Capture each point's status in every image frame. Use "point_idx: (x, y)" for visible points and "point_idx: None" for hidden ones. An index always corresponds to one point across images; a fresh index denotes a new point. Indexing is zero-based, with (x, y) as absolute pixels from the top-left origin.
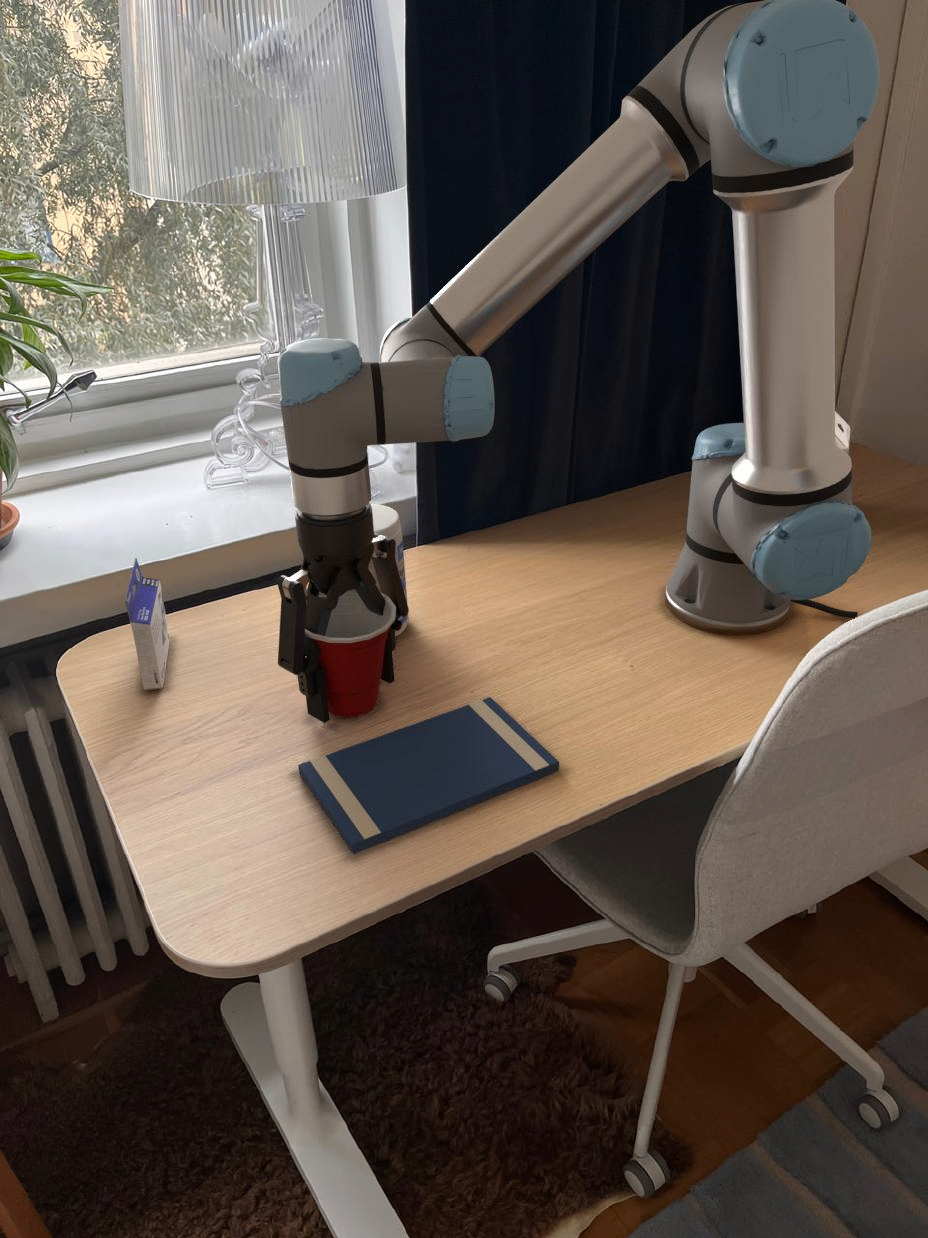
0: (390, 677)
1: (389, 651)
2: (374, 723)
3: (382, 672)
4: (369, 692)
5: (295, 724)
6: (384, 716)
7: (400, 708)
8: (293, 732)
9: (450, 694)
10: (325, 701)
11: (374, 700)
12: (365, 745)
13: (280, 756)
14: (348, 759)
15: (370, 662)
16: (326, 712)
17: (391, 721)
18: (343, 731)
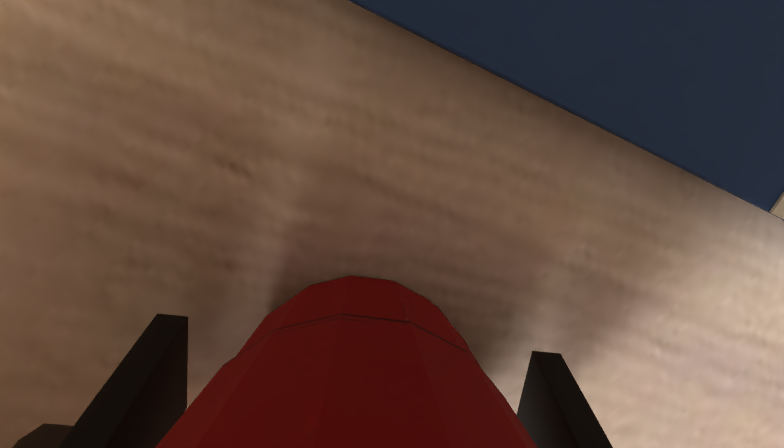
0: (169, 333)
1: (99, 428)
2: (416, 211)
3: (172, 380)
4: (376, 313)
5: None
6: (354, 208)
7: (268, 188)
8: (615, 412)
9: (31, 61)
10: (575, 416)
11: (340, 287)
12: (638, 105)
13: (752, 359)
14: (756, 105)
15: (398, 410)
16: (557, 379)
17: (365, 161)
18: (524, 277)
